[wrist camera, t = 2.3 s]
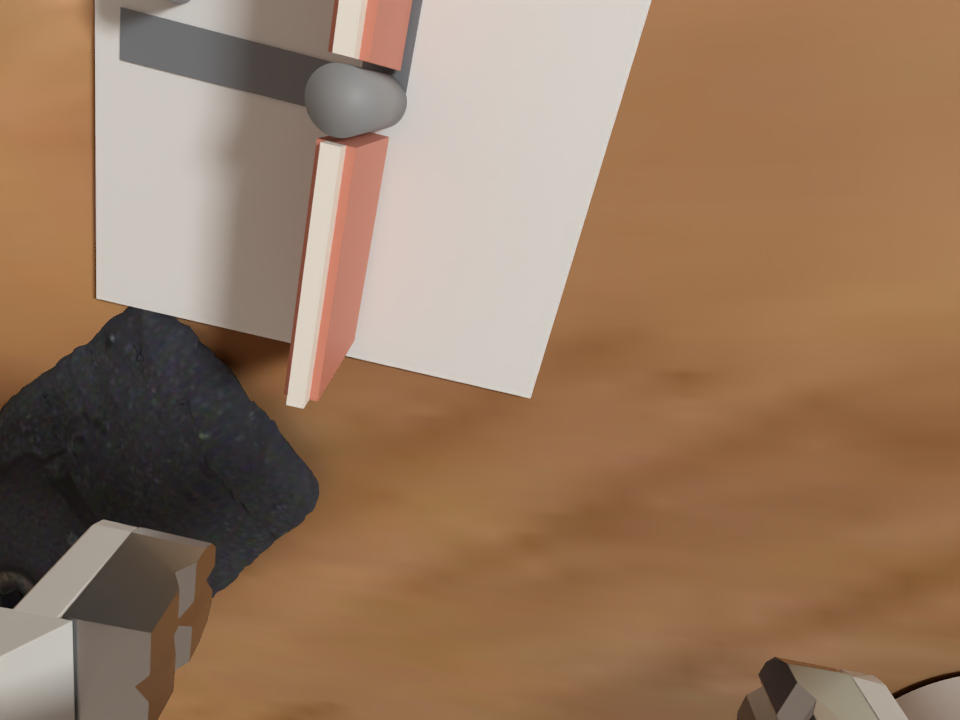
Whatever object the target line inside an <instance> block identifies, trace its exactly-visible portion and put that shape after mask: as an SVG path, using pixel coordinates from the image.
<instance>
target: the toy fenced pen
mask: <svg viewBox="0 0 960 720" xmlns="http://www.w3.org/2000/svg"><path fill="white" fill-rule="evenodd" d="M650 3H651V0H413V1H412V7H411V13H410V19H409V25H408V30H407V36H406V42H405V48H404V54H403V60H402V65H401V71H399V70H395V69H391V68H387V67H383V66H379V65H376V64H372V63H368V62H364V61H361V60H357V59H353V58H350V57H346V56H343V55H339V54H335V53H332V52H328V47H329V39H330V32H331V24H332V16H333V8H334V0H95V133H96V299H101V300H105V301H109V302H114V303H118V304H122V305H127V306H131V307H136V308H140V309H144V310H149V311H153V312H157V313H162V314H166V315H170V316H175V317H179V318H183V319H188V320H192V321H196V322H201V323H205V324H209V325H214V326H218V327H222V328H227V329H231V330H235V331H240V332H244V333H248V334H253V335H257V336H261V337H266V338H270V339H274V340H279V341H283V342H287V343H291V336H292V329H293V321H294V313H295V305H296V297H297V289H298V282H299V274H300V266H301V258H302V250H303V243H304V235H305V227H306V219H307V211H308V203H309V196H310V188H311V180H312V172H313V164H314V157H315V149H316V141H317V138H320V137H325V136H330V135H327V134H325V133H324V132H322V131H321V130H320V129H319V128H317V127H316V125H315V124H314V123H313V122H312V120H311V119H310V117H309V115H308V113H307V110H306V106H305V98H304V97H305V88H306V85H307V82H308V80H309V78H310V77H311V75H312V74H313V73H314V72H315V71H316V70H317V69H318V68H320V67H321V66H323V65H326V64H329V63H344V64H348V65H352V66H357V67H361V68H366V69H370V70H374V71H379V72H383V73H387V74H389V75H391V76H393V77H395V78H396V79H397V80H398V81H399V82H400V84H401V85H402V87H403V89H404V91H405V93H406V97H407V107H406V111H405V114H404V115H403V117H402V119H401V120H400V121H399V122H398V123H397V124H395V125H393V126H391V127H388V128H384V129H380V130H376V131H372V133H376V134H380V135H384V136H388V137H389V141H388V147H387V153H386V159H385V165H384V170H383V176H382V182H381V188H380V194H379V200H378V205H377V211H376V217H375V223H374V229H373V235H372V240H371V246H370V252H369V258H368V264H367V270H366V275H365V281H364V287H363V293H362V299H361V305H360V310H359V316H358V322H357V328H356V334H355V340H354V342H353V344H352V345H351V347H350V349H349V350H348V352H347V354H346V355H345V356H348V357H353V358H357V359H361V360H366V361H370V362H374V363H379V364H383V365H387V366H392V367H396V368H400V369H405V370H409V371H413V372H418V373H422V374H426V375H431V376H435V377H439V378H444V379H448V380H453V381H457V382H461V383H466V384H470V385H474V386H479V387H483V388H487V389H492V390H496V391H500V392H505V393H509V394H513V395H518V396H522V397H526V398H531V395H532V391H533V388H534V385H535V382H536V378H537V375H538V372H539V368H540V365H541V362H542V359H543V355H544V352H545V349H546V345H547V342H548V339H549V336H550V332H551V329H552V326H553V322H554V319H555V316H556V313H557V309H558V306H559V303H560V299H561V296H562V293H563V289H564V286H565V283H566V280H567V276H568V273H569V270H570V266H571V263H572V260H573V257H574V253H575V250H576V247H577V243H578V240H579V237H580V234H581V230H582V227H583V224H584V220H585V217H586V214H587V211H588V207H589V204H590V201H591V197H592V194H593V191H594V188H595V184H596V181H597V178H598V174H599V171H600V168H601V165H602V161H603V158H604V155H605V151H606V148H607V145H608V141H609V138H610V135H611V132H612V128H613V125H614V122H615V118H616V115H617V112H618V109H619V105H620V102H621V99H622V95H623V92H624V89H625V86H626V82H627V79H628V76H629V72H630V69H631V66H632V63H633V59H634V56H635V53H636V49H637V46H638V43H639V40H640V36H641V33H642V30H643V26H644V23H645V20H646V17H647V13H648V10H649V7H650Z"/></svg>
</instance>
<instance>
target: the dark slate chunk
mask: <svg viewBox="0 0 960 720" xmlns="http://www.w3.org/2000/svg"><path fill="white" fill-rule="evenodd" d="M318 497H319V484H318V481H317V479H316V478H315V477H314V475H313V473H312V471H311V470H310V469H309V467H308V466H307V465H306V464H305V463H304V462H303V460H302V459H301V458H300V457H299V456H298V455H297V454H296V453H295V451H294V450H293V449H292V447H291V446H290V444H289V443H288V442H287V441H286V439H285V438H284V437H283V436H282V434H281V433H280V432H279V430H278V427H277V425H276V423H275V421H272V420H270V419H269V417H268V416H267V414H266V413H265V412H264V411H263V410H262V409H260V408H259V407H258V406H257V405H256V404H255V402H254V401H253V402H250V400H249V398H248V396H247V394H246V393H245V391H244V390H243V388H242V386H241V384H240V382H239V381H238V379H237V378H236V376H235V375H234V373H233V372H232V370H231V369H230V368H229V367H228V366H227V365H226V364H224V363H223V362H222V361H221V360H219V359H218V358H216V355H215V354H214V353H213V352H212V351H211V350H210V349H209V348H208V347H207V346H205V345H204V344H202V343H201V342H200V341H199V338H198V337H197V335H196V334H195V333H194V332H193V330H192V329H191V328H190V327H189V326H187V325H184V324H182V323H180V322H179V321H178V320H177V319H176V318H175V317H174V316H170V315H166V314H162V313H157V312H153V311H149V310H144V309H140V308H136V307H131V306H129V307H128V308H127V309H126V310H125V311H124V312H123V313H121V314H119V315H116V316H114V317H113V318H111V319H110V320H109V321H108V322H107V323H106V324H105V325H104V326H103V327H102V329H101V330H100V331H99V333H97V334H96V335H95V337H94V338H93V339H92V340H91V341H90V342H89V343H88V344H86V345H83V346H79V347H77V348H75V349H74V350H73V352H72V353H71V354H69V355H67V356H65V357H63V358H62V359H60V360H59V361H58V363H57V364H56V366H55V367H53V368H52V369H50V370H48V371H46V372H44V373H43V374H41V375H40V376H39V377H38V378H37V379H35V380H34V381H33V382H31V383H30V384H28V385H26V386H25V387H23V388H22V389H21V391H20V392H19V393H18V394H17V395H14V396H12V397H11V398H10V399H9V401H8V402H7V403H6V404H5V405H4V406H3V407H2V409H1V411H0V607H3V608H9V609H13V608H14V607H15V606H16V605H17V604H18V603H19V602H20V601H21V600H22V599H23V598H24V596H25V595H26V594H27V593H28V592H29V591H30V590H31V589H32V588H33V587H34V586H35V585H36V584H37V583H38V582H39V581H40V579H41V578H42V577H43V576H44V575H45V574H46V573H47V572H48V571H49V570H50V569H51V568H52V567H53V566H54V565H55V564H56V563H57V561H58V560H59V559H60V558H61V557H62V556H63V555H64V554H65V553H66V552H67V551H68V550H69V549H70V548H71V547H72V546H73V544H74V543H75V542H76V541H77V540H78V539H79V538H80V537H81V536H82V535H83V534H84V533H85V532H86V531H87V530H88V529H89V528H90V526H92V525H93V524H95V523H97V522H99V521H101V520H103V519H104V520H108V521H112V522H117V523H121V524H125V525H129V526H134V527H138V528H140V527H142V528H147V529H151V530H155V531H160V532H164V533H169V534H173V535H177V536H182V537H186V538H190V539H195V540H199V541H204V542H208V543H212V544H213V545H214V546H215V547H216V552H215V566H214V568H213V570H212V571H211V573H210V575H209V577H208V578H207V580H206V581H207V583H208V584H209V586H210V587H211V589H212V590H213V591H212V598H213V597H214V595H215V594H216V593H217V592H218V591H220V590H222V589H224V588H226V587H227V586H228V585H229V584H230V583H232V582H233V581H234V580H235V579H236V578H237V577H238V575H239V573H240V572H241V571H242V570H243V569H244V567H245V566H248V565H250V564H252V562H253V561H254V559H255V558H257V557H258V556H259V554H261V553H262V552H264V551H265V550H266V549H268V548H269V547H270V546H271V545H272V544H273V542H274V541H275V540H276V539H278V538H279V537H281V536H282V535H284V534H286V533H287V532H289V531H290V530H292V529H293V528H295V527H297V526H298V525H299V524H301V523H302V522H303V521H304V519H305V516H306V515H307V514H309V513H310V512H312V511H313V509H314V508H315V505H316V503H317V500H318Z"/></svg>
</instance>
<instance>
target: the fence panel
mask: <svg viewBox="0 0 960 720" xmlns="http://www.w3.org/2000/svg"><path fill="white" fill-rule="evenodd" d="M388 141H389V137H388V136H384V135H380V134H376V133H372V132H368V133H364V134H360V135H356V136H352V137H348V138H337V137H332V136H325V137H320V138H317V141H316V149H315V157H314V164H313V172H312V180H311V188H310V196H309V203H308V211H307V219H306V227H305V235H304V243H303V250H302V258H301V266H300V274H299V282H298V289H297V297H296V305H295V313H294V321H293V329H292V336H291V344H290V352H289V360H288V368H287V375H286V383H285V391H284V394H286V395H287V403H286V405H289V406H294V407H298V408H303V409H304V407H305V405H306V404H307V402H308V401H309V400H313V401H318V400H319V398H320V397H321V395H322V393H323V392H324V390H325V388H326V387H327V385H328V383H329V382H330V380H331V379H332V377H333V375H334V374H335V372H336V370H337V369H338V367H339V365H340V364H341V362H342V360H343V359H344V357H345V355H346V354H347V352H348V350H349V349H350V347H351V345H352V344H353V342H354V340H355V334H356V328H357V322H358V316H359V310H360V305H361V299H362V293H363V287H364V281H365V275H366V270H367V264H368V258H369V252H370V246H371V240H372V235H373V229H374V223H375V217H376V211H377V205H378V200H379V194H380V188H381V182H382V176H383V170H384V165H385V159H386V153H387V147H388Z"/></svg>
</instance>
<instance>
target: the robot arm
mask: <svg viewBox="0 0 960 720" xmlns="http://www.w3.org/2000/svg"><path fill="white" fill-rule="evenodd" d="M215 552H216V547H215V546H214V545H213V544H212V543H208V542H204V541H199V540H195V539H190V538H186V537H182V536H177V535H173V534H169V533H164V532H160V531H155V530H151V529H147V528H142V527H140V528H138V527H134V526H129V525H125V524H121V523H117V522H112V521H108V520H104V519H103V520H101V521H99V522H97V523H95V524H93V525H92V526H90V528H89V529H88V530H87V531H86V532H85V533H84V534H83V535H82V536H81V537H80V538H79V539H78V540H77V541H76V542H75V543H74V544H73V546H72V547H71V548H70V549H69V550H68V551H67V552H66V553H65V554H64V555H63V556H62V557H61V558H60V559H59V560H58V561H57V563H56V564H55V565H54V566H53V567H52V568H51V569H50V570H49V571H48V572H47V573H46V574H45V575H44V576H43V577H42V578H41V579H40V581H39V582H38V583H37V584H36V585H35V586H34V587H33V588H32V589H31V590H30V591H29V592H28V593H27V594H26V595H25V596H24V598H23V599H22V600H21V601H20V602H19V603H18V604H17V605H16V606H15V607H14V608H13V609H9V608H3V607H0V720H158V718H159V716H160V714H161V713H162V711H163V709H164V707H165V705H166V703H167V702H168V700H169V698H170V696H171V694H172V692H173V688H174V675H175V670H176V669H178V668H179V667H181V666H183V665H184V664H186V663H187V662H189V661H190V659H191V657H192V655H193V653H194V651H195V649H196V647H197V645H198V644H199V641H200V639H201V636H202V633H203V631H204V628H205V625H206V623H207V620H208V616H209V611H210V607H211V601H212V591H213V590H212V589H211V587H210V586H209V584H208V583H207V581H206V580H207V578H208V577H209V575H210V573H211V571H212V570H213V568H214V566H215ZM759 678H760V681H761V684H762V687H761V688H759V689H757V690H755V691H753V692H751V693H749V694H748V695H746V697H745V699H744V700H743V702H742V704H741V706H740V708H739V710H738V714H737V720H960V676H959V677H955V678H950V679H946V680H942V681H939V682H935V683H932V684H929V685H926V686H924V687H921V688H918V689H916V690H914V691H911V692H909V693H907V694H905V695H903V696H901V697H899V698H897V699H894V697H893V696H892V694H891V693H890V691H889V690H888V688H887V687H886V685H885V684H884V683H882V682H881V681H880V680H879V679H878V678H876V677H875V676H873V675H868V674H863V673H858V672H852V671H847V670H842V669H841V670H837V669H835V668H830V667H825V666H820V665H814V664H809V663H804V662H799V661H793V660H788V659H783V658H778V657H774V658H773V659H771V660H769V661H767V662H766V663H765V665H764V666H763V668H762V670H761V671H760V673H759Z"/></svg>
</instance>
